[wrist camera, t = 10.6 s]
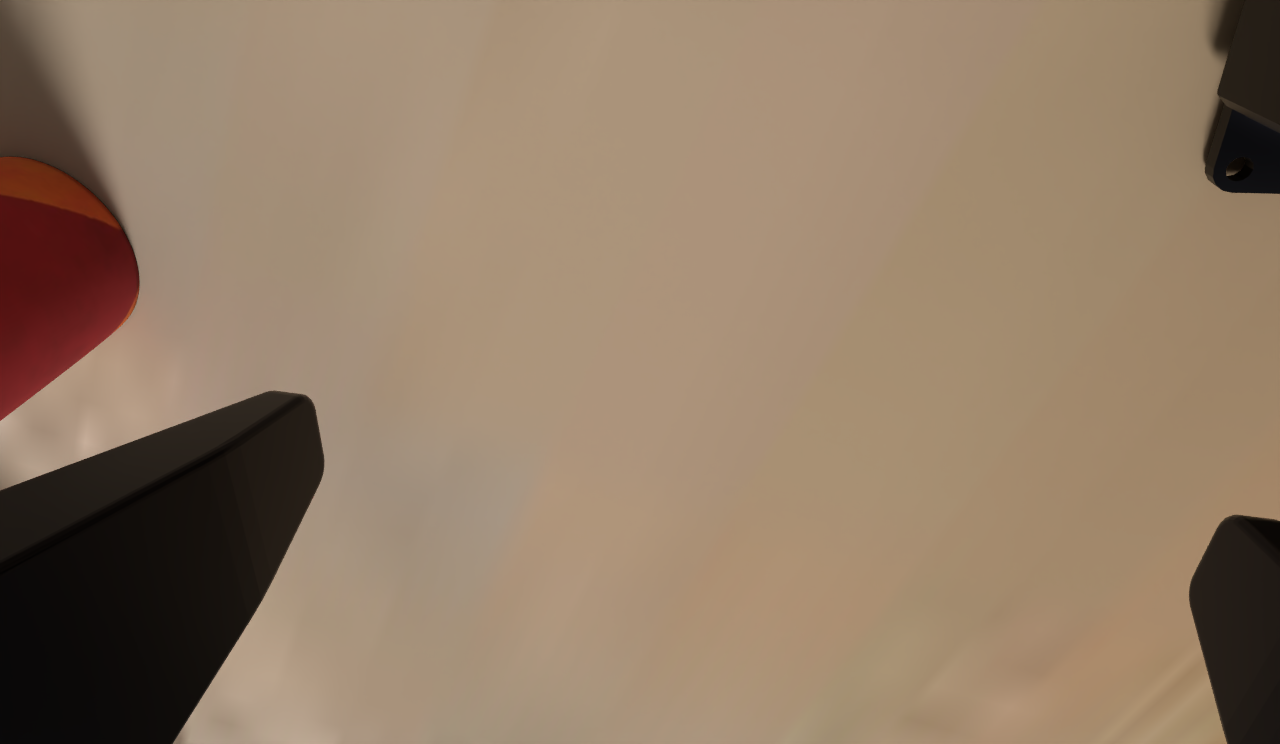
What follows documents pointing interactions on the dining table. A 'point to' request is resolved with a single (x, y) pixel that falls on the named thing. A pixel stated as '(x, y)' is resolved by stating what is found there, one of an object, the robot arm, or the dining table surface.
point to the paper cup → (55, 276)
